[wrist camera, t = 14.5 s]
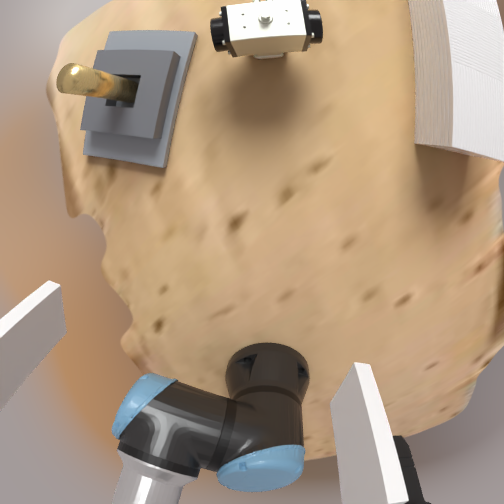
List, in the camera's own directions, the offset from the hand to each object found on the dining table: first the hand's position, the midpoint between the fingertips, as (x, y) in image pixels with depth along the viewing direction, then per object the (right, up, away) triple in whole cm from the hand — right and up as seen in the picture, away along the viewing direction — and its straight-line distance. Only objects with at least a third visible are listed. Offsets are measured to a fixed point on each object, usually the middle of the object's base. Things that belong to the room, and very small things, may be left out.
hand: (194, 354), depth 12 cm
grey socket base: (-14, +27, +25) cm, 39 cm away
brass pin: (-14, +27, +23) cm, 38 cm away
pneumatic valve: (+5, +32, +22) cm, 39 cm away
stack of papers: (+31, +35, +19) cm, 50 cm away
